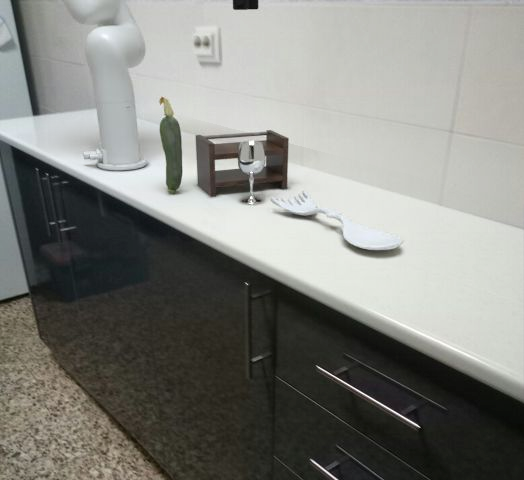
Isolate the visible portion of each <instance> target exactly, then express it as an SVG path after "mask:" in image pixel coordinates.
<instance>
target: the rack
mask: <svg viewBox="0 0 524 480" xmlns="http://www.w3.org/2000/svg"><path fill="white" fill-rule="evenodd" d="M260 136H262V137H263V136H266V139H263V140H258V141H259V142H262V143H263V147H264V152H265V166H264V168H263V170H262V171H261V172H260V173H258V174H255V175H253V178H254V182H253V184H262V183H272V184H273V185H275V186H277V187H278V188H280V189H281V190H288V169H289V141H290V139H289V137H288V136H285V135H282V134H280V133H278V132H276V131H274V130H272V129H266V131H255V132H242V133H241V132H240V133H226V134H225V133H224V134H223V133H222V134H209V135H201V134H195V136H194V137H195V156H196V176H197V186H198V187H199V188H200V189H201V190H203V191H204V192H205V193H206V194H207V195H208V196H210V198H211V197H217V188H222V187H230V186H231V187H232V186H233V187H234V186H241V185H250V182H249V177H250V175H248V174H245V173H243V172H242V171H241V170H240V169H239V168H231V169H219V170H216V161H221V160H231V159H238V151H239V146H240V143H241V142H242V141H235V142H221V143H214V142H212V141H211V140H217V139H218V140H219V139H232V138H233V139H234V138H247V137H248V138H249V137H260Z"/></svg>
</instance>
